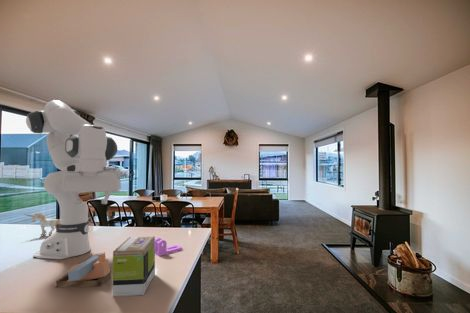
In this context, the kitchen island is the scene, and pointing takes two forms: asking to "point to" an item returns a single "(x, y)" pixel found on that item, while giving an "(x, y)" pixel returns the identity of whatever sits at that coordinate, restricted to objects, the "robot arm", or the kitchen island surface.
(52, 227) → the unicorn figurine
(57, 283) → the cradle
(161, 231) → the kitchen island surface
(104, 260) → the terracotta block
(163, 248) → the bracket
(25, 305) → the kitchen island surface
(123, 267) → the tea box
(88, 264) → the panel
